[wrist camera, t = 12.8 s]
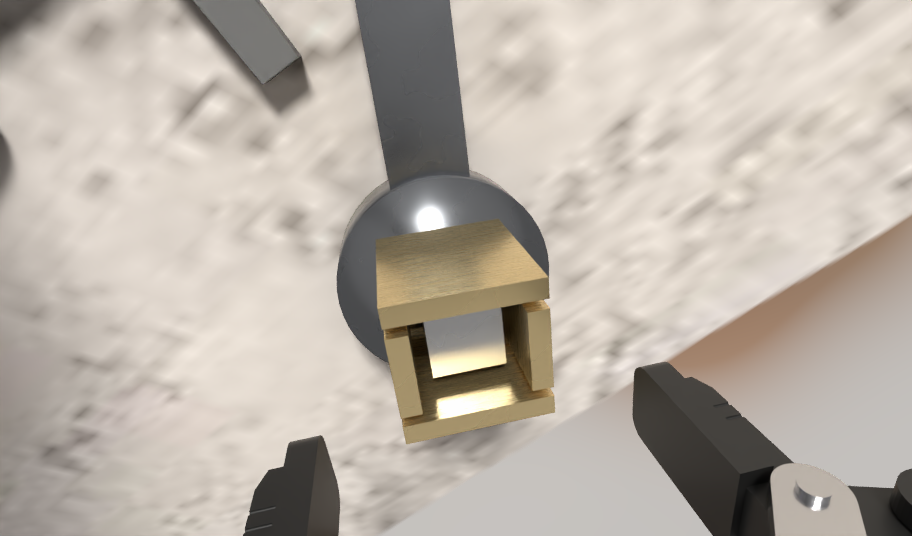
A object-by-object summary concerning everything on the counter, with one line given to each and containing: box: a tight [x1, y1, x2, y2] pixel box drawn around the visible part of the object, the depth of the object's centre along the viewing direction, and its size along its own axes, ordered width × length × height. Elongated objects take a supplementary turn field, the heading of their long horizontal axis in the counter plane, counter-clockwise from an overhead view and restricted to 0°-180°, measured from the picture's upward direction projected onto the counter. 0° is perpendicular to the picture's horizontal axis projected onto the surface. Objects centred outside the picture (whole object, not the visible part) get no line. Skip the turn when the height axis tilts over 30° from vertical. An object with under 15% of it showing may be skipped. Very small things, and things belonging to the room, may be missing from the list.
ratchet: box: [337, 0, 549, 378], centre depth 16 cm, size 9×22×7 cm, turn 8°
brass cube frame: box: [376, 219, 555, 444], centre depth 17 cm, size 5×5×6 cm
